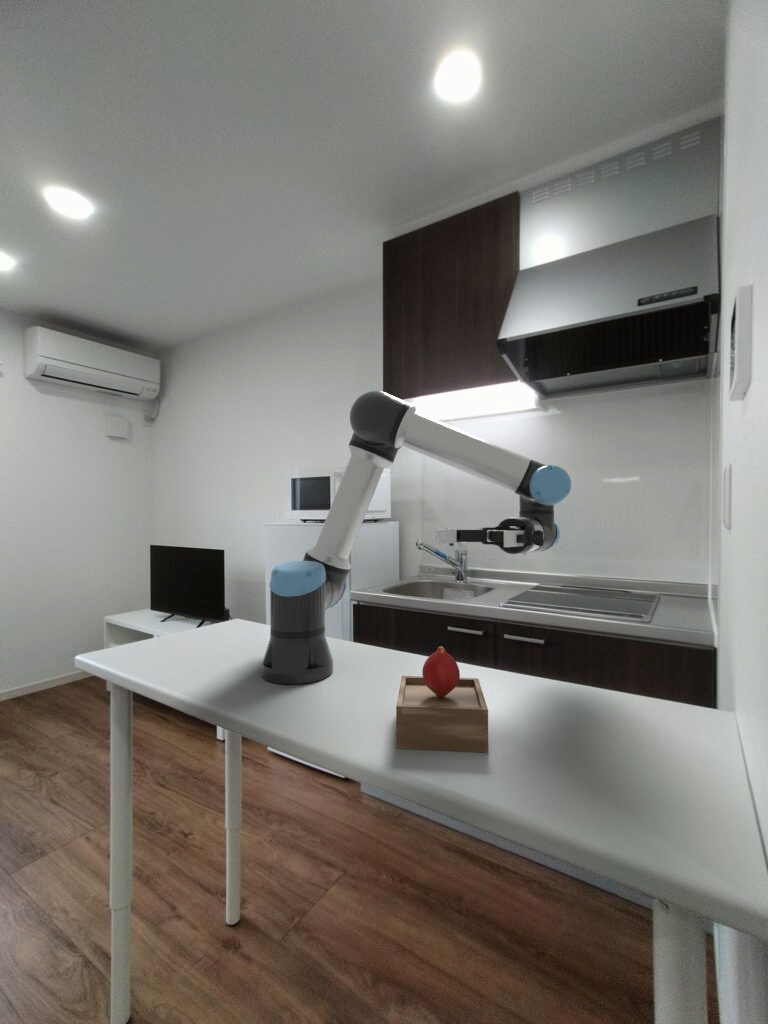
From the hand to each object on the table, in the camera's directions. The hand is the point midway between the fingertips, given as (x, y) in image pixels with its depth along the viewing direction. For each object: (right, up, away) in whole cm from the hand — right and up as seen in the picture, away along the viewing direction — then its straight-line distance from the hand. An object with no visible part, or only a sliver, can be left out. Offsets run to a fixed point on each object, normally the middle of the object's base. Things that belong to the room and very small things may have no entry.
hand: (469, 537), depth 79 cm
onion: (-6, -25, -8) cm, 27 cm away
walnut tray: (-6, -30, -8) cm, 31 cm away
